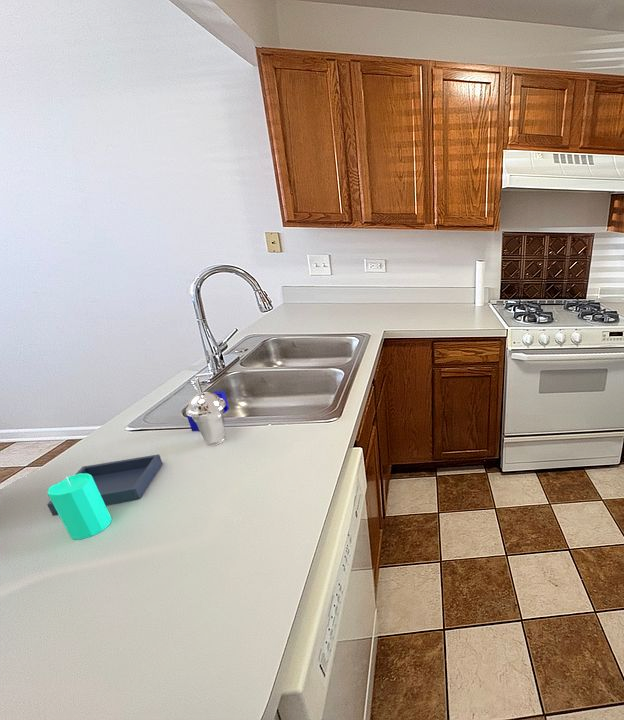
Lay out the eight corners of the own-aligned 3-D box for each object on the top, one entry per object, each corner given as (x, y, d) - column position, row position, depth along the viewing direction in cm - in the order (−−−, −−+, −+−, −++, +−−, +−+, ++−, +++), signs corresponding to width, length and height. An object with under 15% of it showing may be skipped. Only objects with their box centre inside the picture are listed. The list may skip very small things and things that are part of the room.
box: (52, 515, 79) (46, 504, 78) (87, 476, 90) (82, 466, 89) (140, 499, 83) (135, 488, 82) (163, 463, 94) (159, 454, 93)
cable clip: (214, 409, 119) (209, 391, 116) (229, 409, 119) (224, 391, 116) (186, 431, 108) (180, 411, 105) (202, 431, 107) (196, 412, 105)
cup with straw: (225, 428, 109) (206, 361, 101) (242, 439, 104) (223, 369, 96) (191, 443, 102) (167, 372, 95) (206, 455, 97) (183, 382, 90)
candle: (110, 511, 80) (88, 462, 76) (113, 527, 76) (89, 477, 72) (69, 527, 76) (43, 476, 72) (70, 545, 72) (42, 493, 68)
